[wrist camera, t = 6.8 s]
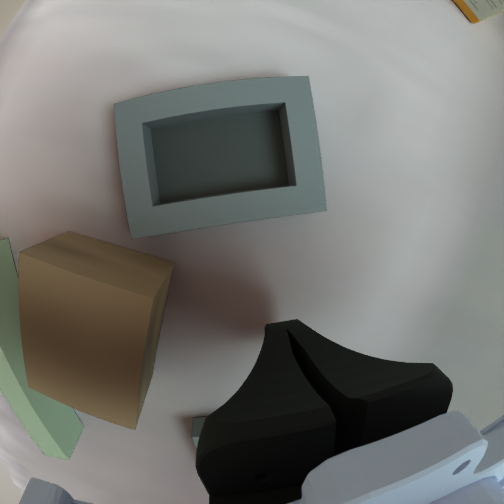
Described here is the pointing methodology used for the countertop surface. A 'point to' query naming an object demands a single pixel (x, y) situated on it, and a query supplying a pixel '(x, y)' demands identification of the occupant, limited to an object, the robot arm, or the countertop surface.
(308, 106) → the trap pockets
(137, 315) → the tan block
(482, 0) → the supplement box
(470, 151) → the countertop surface
